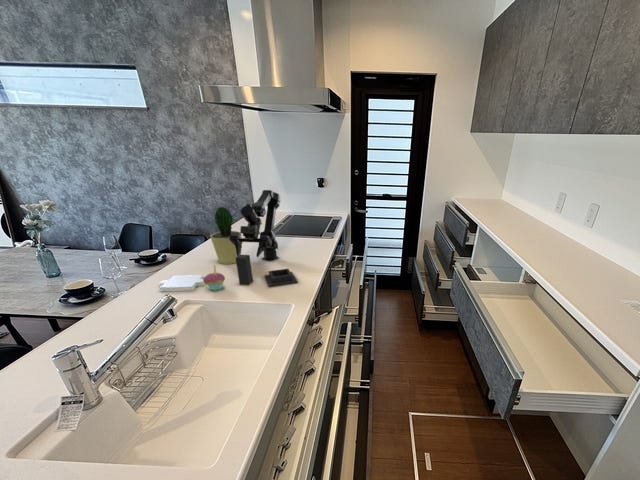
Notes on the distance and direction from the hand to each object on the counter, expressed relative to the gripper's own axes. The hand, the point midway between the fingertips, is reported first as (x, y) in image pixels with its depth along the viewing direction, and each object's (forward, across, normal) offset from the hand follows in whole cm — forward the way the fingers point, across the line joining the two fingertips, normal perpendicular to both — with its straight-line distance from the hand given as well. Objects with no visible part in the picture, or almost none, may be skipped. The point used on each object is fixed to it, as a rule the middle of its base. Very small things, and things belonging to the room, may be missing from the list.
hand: (247, 256), depth 142 cm
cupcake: (+17, -11, 0) cm, 20 cm away
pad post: (+11, 0, +5) cm, 12 cm away
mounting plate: (+15, -27, +1) cm, 31 cm away
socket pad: (+8, +15, +8) cm, 19 cm away
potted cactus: (-8, -21, +25) cm, 33 cm away
